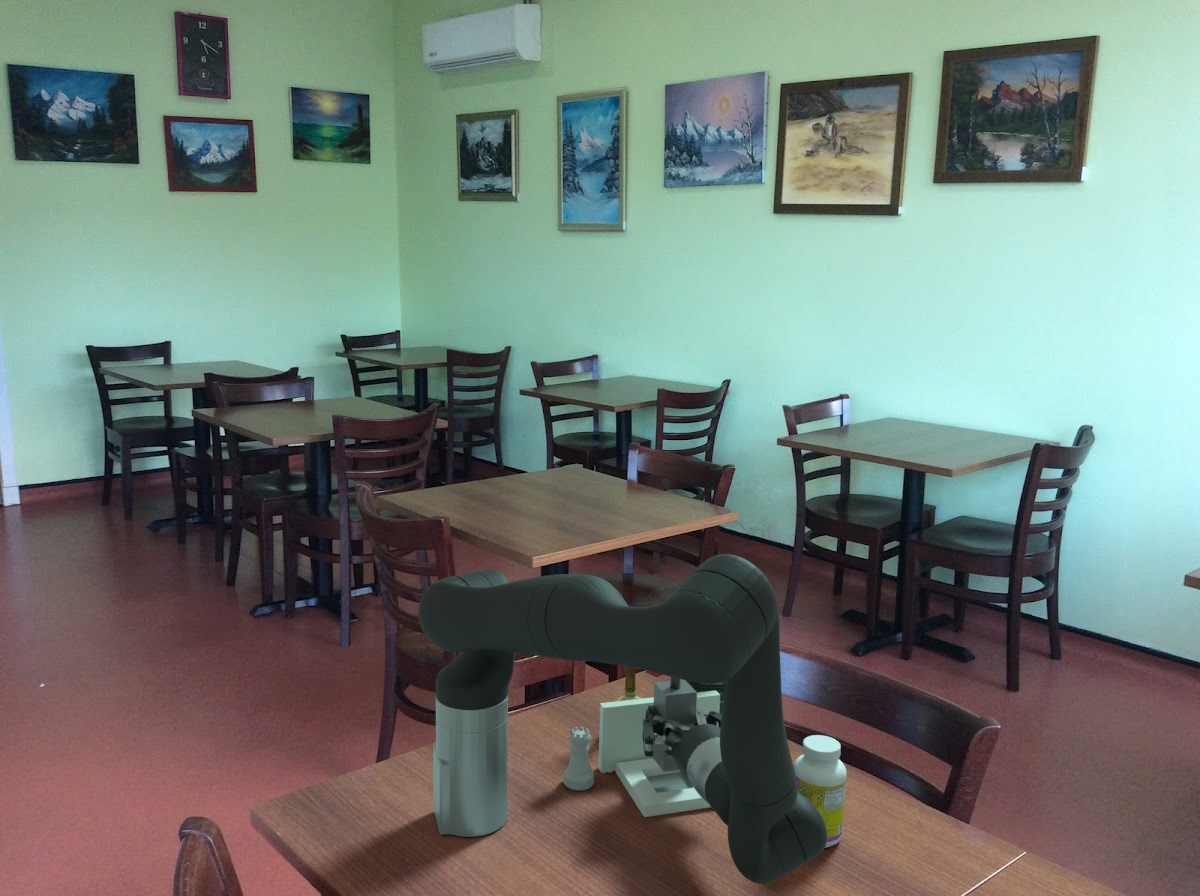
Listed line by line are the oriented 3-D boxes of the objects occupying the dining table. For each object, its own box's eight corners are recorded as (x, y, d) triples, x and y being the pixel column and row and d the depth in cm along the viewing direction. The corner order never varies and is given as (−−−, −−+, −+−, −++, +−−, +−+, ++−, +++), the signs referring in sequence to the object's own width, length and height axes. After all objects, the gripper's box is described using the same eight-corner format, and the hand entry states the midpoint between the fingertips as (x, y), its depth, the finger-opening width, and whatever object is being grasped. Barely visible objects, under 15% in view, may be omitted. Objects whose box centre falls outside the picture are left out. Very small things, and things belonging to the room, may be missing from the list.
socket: (629, 819, 131) (632, 748, 129) (598, 767, 144) (600, 703, 142) (754, 800, 136) (758, 732, 135) (712, 753, 150) (715, 690, 148)
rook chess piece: (557, 788, 138) (558, 734, 137) (570, 773, 143) (571, 721, 141) (587, 795, 137) (588, 740, 135) (599, 780, 141) (600, 727, 139)
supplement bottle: (778, 827, 130) (784, 735, 128) (821, 817, 133) (827, 727, 130) (808, 855, 124) (815, 759, 122) (852, 844, 127) (859, 750, 124)
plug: (663, 772, 135) (666, 679, 133) (651, 756, 140) (654, 666, 137) (694, 768, 136) (697, 675, 134) (681, 752, 141) (685, 663, 139)
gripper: (769, 732, 125) (714, 679, 141) (663, 745, 121) (619, 689, 137) (766, 787, 126) (712, 728, 142) (661, 802, 122) (617, 740, 138)
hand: (667, 710), depth 139 cm, fingers closed on plug, 4 cm apart
